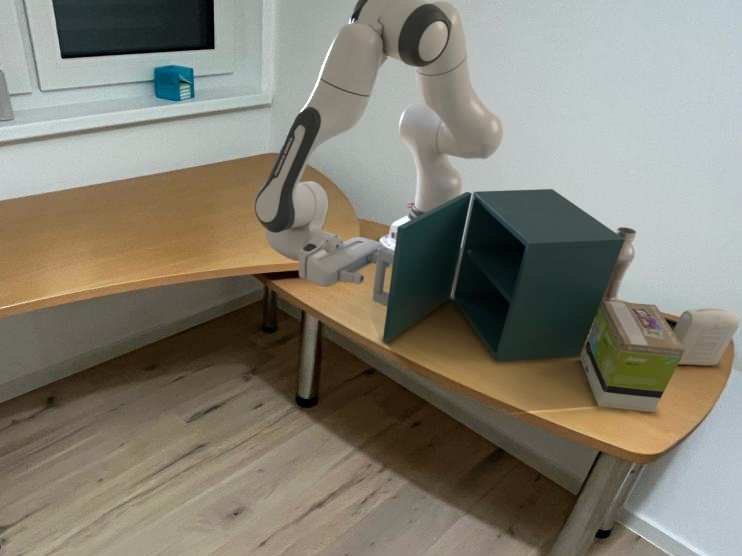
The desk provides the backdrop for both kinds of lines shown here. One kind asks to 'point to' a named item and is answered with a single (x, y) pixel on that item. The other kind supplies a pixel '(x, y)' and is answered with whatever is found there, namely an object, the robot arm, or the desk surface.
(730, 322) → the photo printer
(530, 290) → the box
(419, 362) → the desk surface
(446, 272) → the fridge door
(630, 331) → the tea box
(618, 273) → the beige vase
